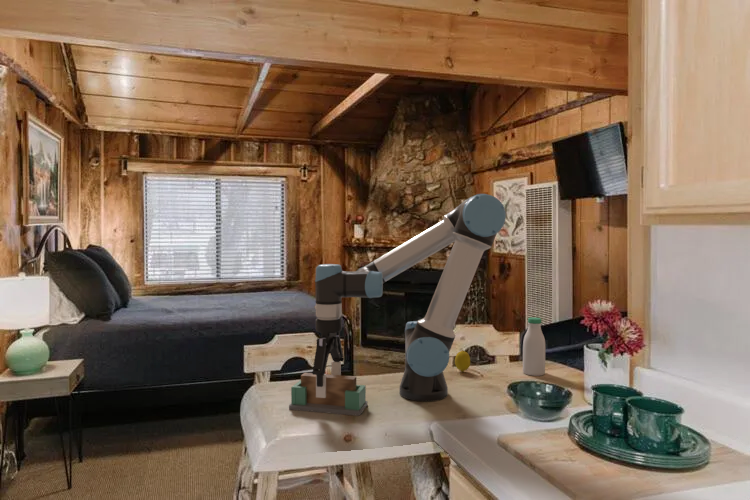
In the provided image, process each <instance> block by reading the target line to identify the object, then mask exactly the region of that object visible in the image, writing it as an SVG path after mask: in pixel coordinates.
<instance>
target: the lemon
mask: <svg viewBox="0 0 750 500" xmlns="http://www.w3.org/2000/svg"><path fill="white" fill-rule="evenodd" d="M454 364H455V367H456V369H457V370H459V371H460V372H461V373H464V372H465V371H467V370H468V369H469V368H470V366H471V356H470V355H469V353H468V352H467V351H464V349H463V350H461V351H458V352H457V353H456V355H455V358H454Z"/></svg>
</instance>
